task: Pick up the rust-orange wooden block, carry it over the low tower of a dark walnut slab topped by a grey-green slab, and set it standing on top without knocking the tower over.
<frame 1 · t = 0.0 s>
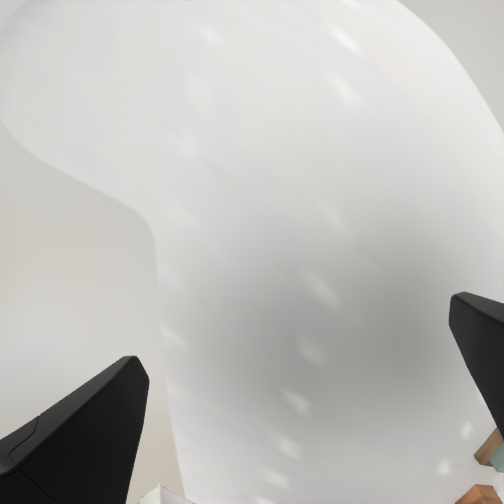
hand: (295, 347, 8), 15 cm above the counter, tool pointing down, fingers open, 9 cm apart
block: (471, 496, 24), on the counter
skyscraper: (168, 499, 28), on the counter
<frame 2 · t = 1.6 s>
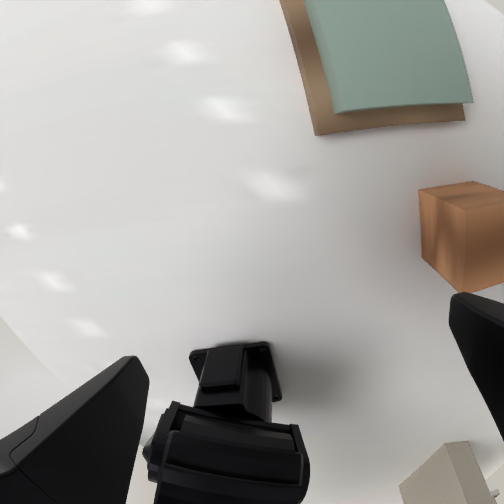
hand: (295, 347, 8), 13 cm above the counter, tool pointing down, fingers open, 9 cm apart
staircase: (433, 462, 31), on the counter
tower base: (369, 54, 16), on the counter, touching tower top
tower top: (382, 44, 14), point 2 cm above the counter, touching tower base
block: (448, 218, 19), on the counter
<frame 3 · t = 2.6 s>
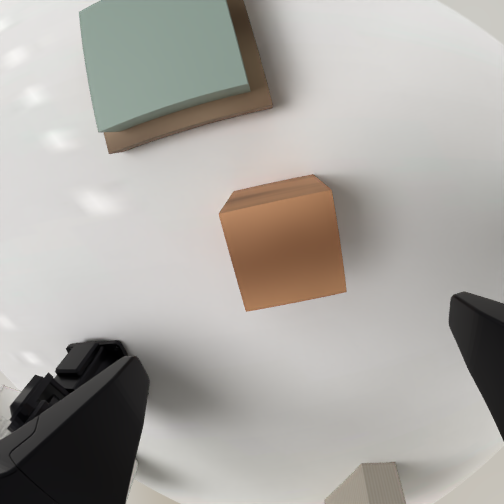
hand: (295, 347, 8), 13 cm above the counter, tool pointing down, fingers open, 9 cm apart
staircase: (359, 480, 32), on the counter
tower base: (177, 59, 17), on the counter, touching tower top
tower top: (166, 49, 15), point 2 cm above the counter, touching tower base
block: (281, 220, 20), on the counter
skyscraper: (22, 400, 30), on the counter
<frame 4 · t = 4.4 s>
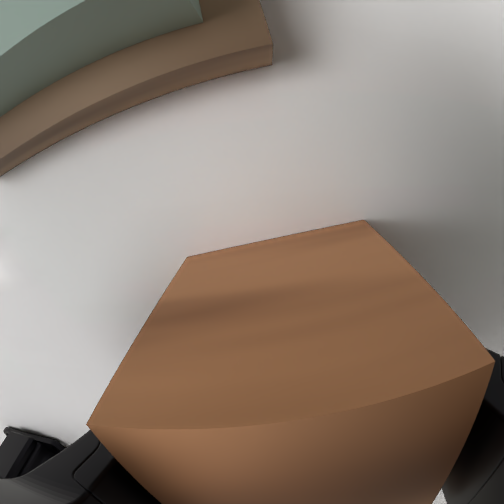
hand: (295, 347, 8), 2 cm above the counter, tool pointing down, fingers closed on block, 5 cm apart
block: (291, 316, 9), on the counter, touching gripper
when the fingers open (8 cm above the counter, at t = 9.0 s): block drops 2 cm, resting on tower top.
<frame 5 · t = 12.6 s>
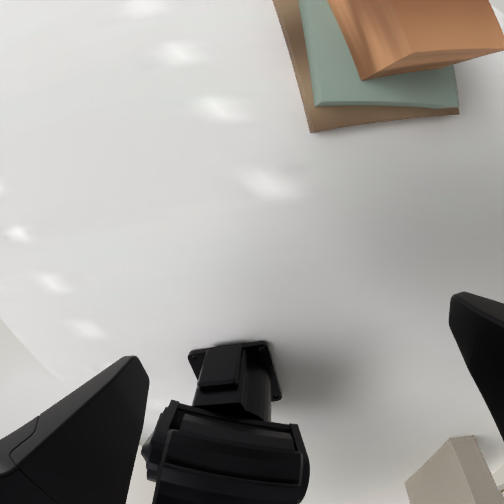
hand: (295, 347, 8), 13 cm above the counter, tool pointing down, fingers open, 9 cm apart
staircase: (438, 457, 31), on the counter
tower base: (362, 51, 16), on the counter, touching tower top
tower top: (371, 43, 14), point 2 cm above the counter, touching block, tower base
block: (386, 30, 12), point 4 cm above the counter, touching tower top
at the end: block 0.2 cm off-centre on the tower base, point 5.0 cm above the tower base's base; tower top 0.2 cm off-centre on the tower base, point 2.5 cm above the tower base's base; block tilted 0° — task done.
